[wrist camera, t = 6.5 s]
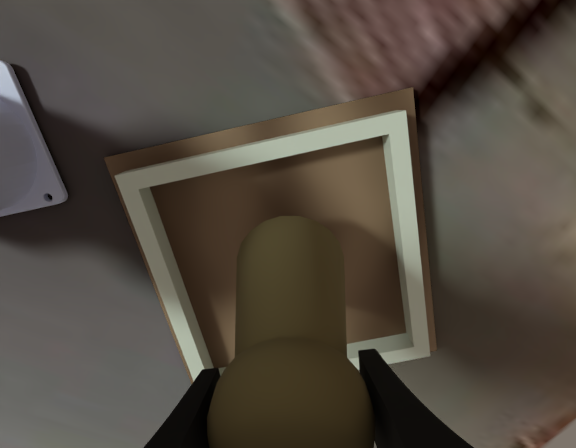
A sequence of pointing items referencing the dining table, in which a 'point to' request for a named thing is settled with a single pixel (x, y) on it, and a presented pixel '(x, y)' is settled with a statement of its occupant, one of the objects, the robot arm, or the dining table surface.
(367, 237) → the board
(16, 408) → the dining table surface
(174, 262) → the walled square frame
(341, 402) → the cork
